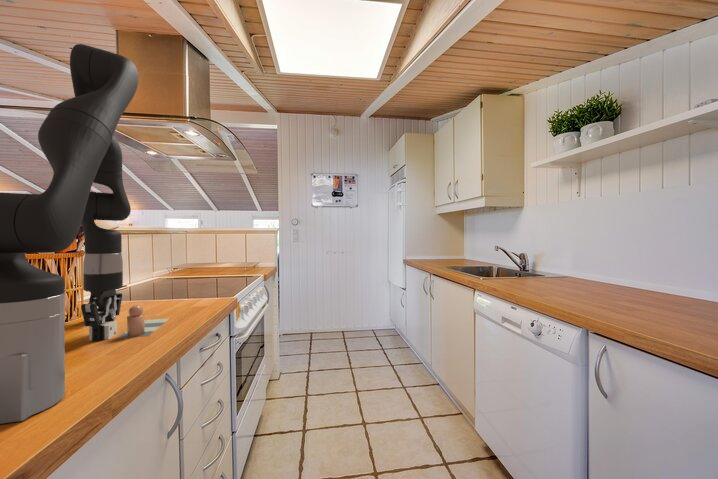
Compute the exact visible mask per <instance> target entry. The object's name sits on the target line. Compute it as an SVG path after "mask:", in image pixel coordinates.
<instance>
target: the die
mask: <svg viewBox="0 0 718 479" xmlns="http://www.w3.org/2000/svg"><path fill="white" fill-rule="evenodd" d="M104 325H105V326H104V340H109V339H112V338H113V337H114V336H116V335H117V334H118V320H114V321H109V322H105V324H104ZM104 340H103V341H104ZM88 341H89V342H90V341H92V327H90V326H88ZM92 342H93V341H92Z"/></svg>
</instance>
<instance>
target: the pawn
mask: <svg viewBox="0 0 718 479" xmlns="http://www.w3.org/2000/svg"><path fill="white" fill-rule="evenodd" d="M126 318H127V319H126V331H127V336H128V337H131V338H137V337H136V336H140V335H143V334H144V333H145V320H146V319H145V314H144V308H143V307H142V306H141V305H138V304H137V305H136V304H135V305H133V306H131V307H130V308H129V309H128V316H126Z"/></svg>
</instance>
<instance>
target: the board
mask: <svg viewBox="0 0 718 479" xmlns="http://www.w3.org/2000/svg"><path fill="white" fill-rule="evenodd" d="M169 320H170V318H159V319H158V318H157V319H145V333H144V334H143V335H140V336H136V337H135V338H140V337H141V338H143V337H149V336H150V335H151V334H153V333H154V332H155V331H156V330H158V329H159V328H160V327H161V326H162V325H164V324H165V323H166V322H168V321H169ZM127 338H128V339H129V338H131V339H132V337H128V336H127V330H126V331H125V332H123V333H121V334H120V335H119V336H117V337H116V338H115V339H118V340H119V339H127Z"/></svg>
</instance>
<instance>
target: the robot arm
mask: <svg viewBox="0 0 718 479" xmlns="http://www.w3.org/2000/svg"><path fill="white" fill-rule="evenodd" d="M69 69H70V77H71V83H72V89H73V93H74V97H71V98H68V99H66V100H64V101H61V102H59V103H56V105H54V106H53V107H52V108H51V110H50V111H49V112H48V114H47V116H46V117H45V118H44V121H43V122H42V123H41V125H40V127H39V129H38V132H37V133H38V134H37V140H38V143H39V146H40V149H41V150H42V152H43V154H44V156H45V158H46V160H47V161H48V163H49V165H50V166H51V169H52V170H53V175H52V179H51V181H50V183H49V185H48V187H47V188H46V189H45V191H43V192H41V193H39V194H38V193H22V192H21V193H20V192H19V193H17V192H15V193H14V192H0V425H1V424H8V423H15V422H22V421H24V420H26V419H28V418H29V417H31V416H33V415H35V414H38V413H41V412H43V411H45V410H47V409H49V408H51V407H53V406H54V405H56V404H58V403H59V402H60V401H61V400H63V398H64V397H65V394H66V392H65V391H66V378H65V377H66V370H65V368H66V366H65V365H66V364H65V363H66V359H65V358H66V356H65V352H66V350H65V349H66V346H65V340H66V339H65V338H66V336H65V335H66V334H65V330H66V329H65V327H66V326H65V324H66V323H65V322H66V321H65V320H66V319H65V316H66V314H65V313H66V312H65V310H66V304H65V303H66V302H65V301H66V297H65V296H66V295H65V294H66V293H65V292H66V290H65V289H66V284H65V282H66V281H65V278H64V277H63V276H62V275H59V274H58V273H57V274H56V273H52V272H50V271H46V270H44V269H40V268H38V267H36V266H34V265H33V264H32V263H30V262H29V261H28V259H27V257H26V254H48V253H51V254H52V253H57V252H59V253H60V252H63V251H64V250H67V249H68V248H69V247H70V246H72V244H74V242H75V240H76V238H77V237H78V234H79V232H80V229H81V227H82V230H83V236H84V257H83V265H82V269H83V270H82V272H83V273H82V282H83V283H82V289H83V291H84V292H88V293H90V295H89V300H88V302H87V303H82V304H81V305H80V308H81V313H82V317H83V321H84V325H85V327H92V342H100V341H104V326H105V325H104V324H105V322H109V321H116V318H117V316H119V315H120V311H121V308H122V300H123V293H120V292H119V293H117V290H119V289H120V290H121V289H122V287H123V286H124V285H123V283H124V278H123V277H124V274H123V273H124V270H123V269H124V262H123V261H124V260H123V255H122V249H123V248H122V245H123V244H122V234H121V232H120V231H118V230H114V229H107V228H103V227H100V226H98V225H97V224H96V222H95V221H112V222H113V221H115V222H117V221H120V222H122V221H125V220H127V219H128V218H129V216H130V215H131V210H132V208H131V205H130V201H129V199H128V195H127V194H126V193H127V192H126V191H125V187H124V181H123V180H124V179H123V153H122V147H121V146H120V143H119V142H118V139H117V138H116V136H115V135H114V134H115V131H116V129H117V126H118V124H119V122H120V119H121V118H122V116H123V114H124V112H125V111H126V110H127V108H128V107H129V105H130V104H131V102H132V100H133V98H134V96H135V95H136V92H137V91H138V90H137V89H138V85H139V73H138V69H137V66H136V65H135V63H134V62H133V60H131V59H129V58H128V57H126V56H124V55H121V54H119V53H115V52H111V51H108V50H104V49H100V48H97V47H95V46H91V45H87V44H82V43H76V44H75V45H74V46H73V47H72V48H71V51H70V54H69ZM93 184H98V185H103V186H105V187H107V188H109V189H110V190H111V191H112V192H111V193H110V192H101V191H98V192H97V191H91V190H92V187H93ZM120 307H121V308H120ZM98 312H100V313H98ZM99 316H100V317H101V318H100V317H99ZM90 318H91V321H90Z"/></svg>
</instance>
